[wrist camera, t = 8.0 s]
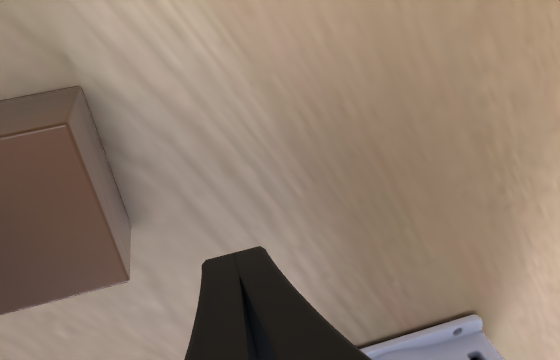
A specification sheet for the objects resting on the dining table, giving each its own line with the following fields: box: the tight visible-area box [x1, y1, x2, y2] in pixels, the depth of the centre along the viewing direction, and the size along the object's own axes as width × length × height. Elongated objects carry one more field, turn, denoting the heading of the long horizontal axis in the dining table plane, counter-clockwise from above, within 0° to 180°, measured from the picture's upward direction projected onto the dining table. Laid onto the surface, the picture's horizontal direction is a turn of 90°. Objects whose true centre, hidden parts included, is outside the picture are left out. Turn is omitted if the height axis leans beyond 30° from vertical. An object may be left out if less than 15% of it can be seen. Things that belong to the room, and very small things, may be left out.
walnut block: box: [0, 86, 131, 315], centre depth 14 cm, size 6×6×3 cm
